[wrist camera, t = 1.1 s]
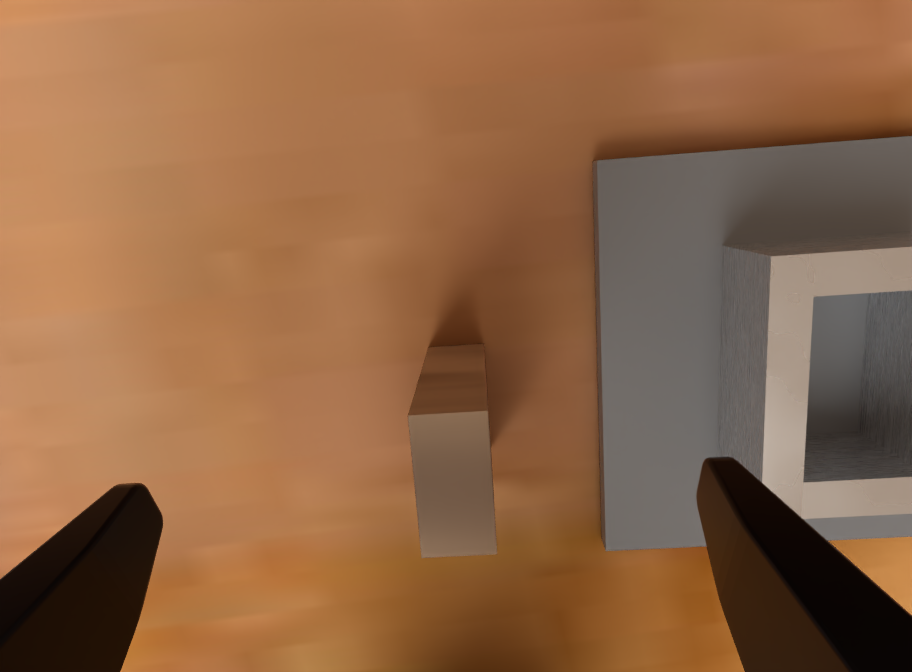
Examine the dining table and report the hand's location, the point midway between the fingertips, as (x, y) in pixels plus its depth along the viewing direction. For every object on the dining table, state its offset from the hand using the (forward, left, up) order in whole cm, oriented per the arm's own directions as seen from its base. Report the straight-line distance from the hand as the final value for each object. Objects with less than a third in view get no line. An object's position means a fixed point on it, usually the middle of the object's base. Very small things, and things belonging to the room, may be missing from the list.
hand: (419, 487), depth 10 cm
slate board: (-2, -12, -12) cm, 17 cm away
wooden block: (-3, 0, -13) cm, 13 cm away
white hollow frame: (-2, -12, -12) cm, 17 cm away
